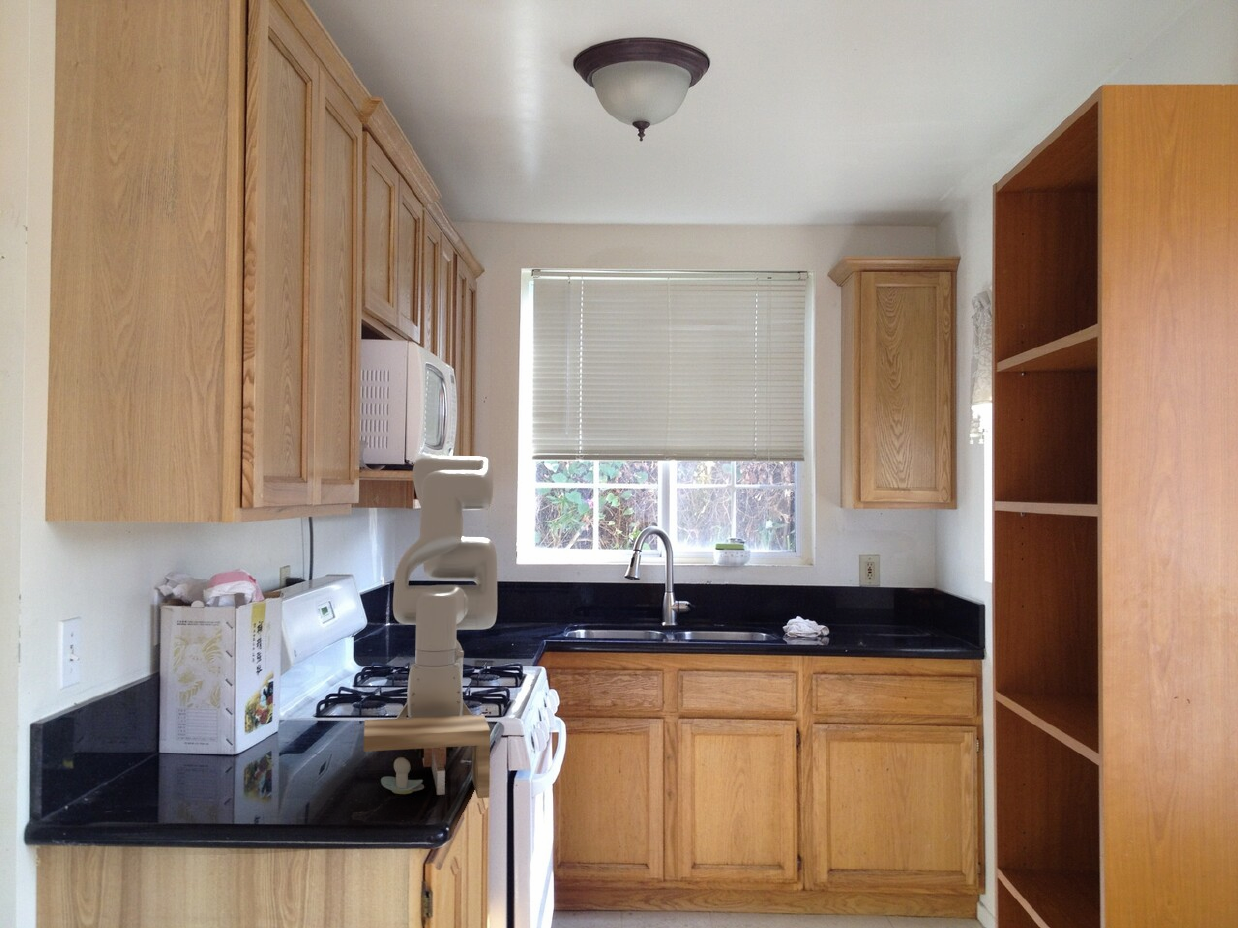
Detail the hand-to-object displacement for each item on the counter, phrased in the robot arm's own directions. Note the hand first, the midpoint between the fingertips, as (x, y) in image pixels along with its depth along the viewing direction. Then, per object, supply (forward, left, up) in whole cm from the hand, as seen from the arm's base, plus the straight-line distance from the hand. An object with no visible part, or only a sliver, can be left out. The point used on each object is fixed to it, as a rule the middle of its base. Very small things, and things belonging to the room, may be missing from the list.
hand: (434, 754), depth 178 cm
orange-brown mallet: (+8, 0, -2) cm, 8 cm away
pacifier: (+10, -6, -3) cm, 12 cm away
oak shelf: (+12, -2, -3) cm, 12 cm away
